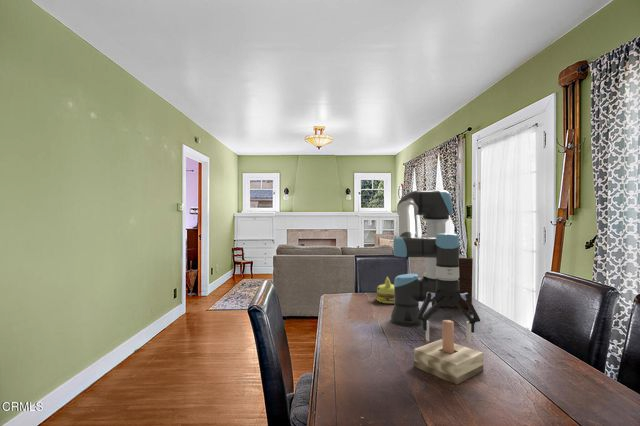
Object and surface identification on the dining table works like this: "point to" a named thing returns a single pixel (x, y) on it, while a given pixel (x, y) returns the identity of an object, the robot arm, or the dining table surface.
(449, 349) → the pin
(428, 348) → the bore block
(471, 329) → the robot arm
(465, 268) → the dark brown wooden cabinet
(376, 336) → the dining table surface
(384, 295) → the toy
